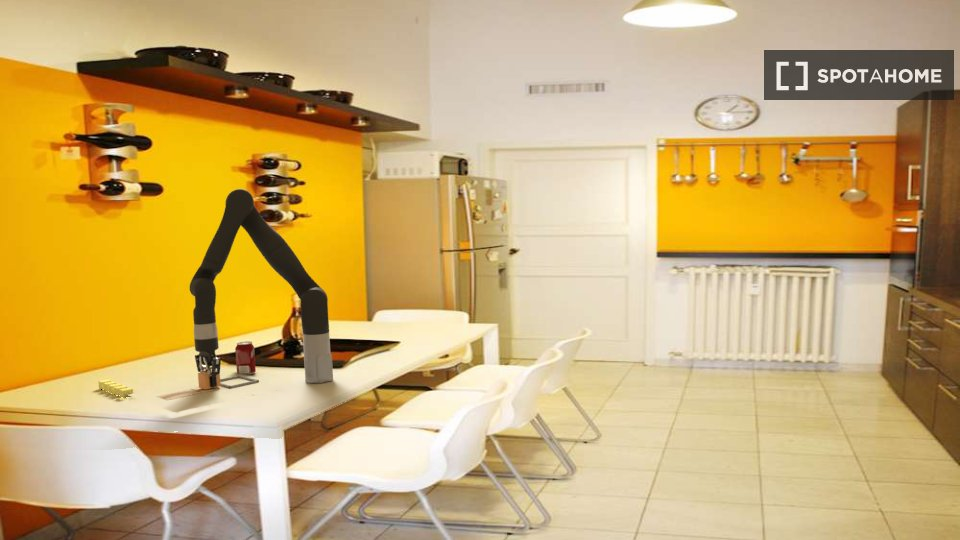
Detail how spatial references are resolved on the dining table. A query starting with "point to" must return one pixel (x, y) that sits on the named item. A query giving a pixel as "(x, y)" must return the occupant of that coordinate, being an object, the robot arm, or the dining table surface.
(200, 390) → the wooden board
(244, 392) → the dining table surface
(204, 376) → the block
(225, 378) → the tray
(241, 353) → the soda can
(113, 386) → the yellow flower cubes
